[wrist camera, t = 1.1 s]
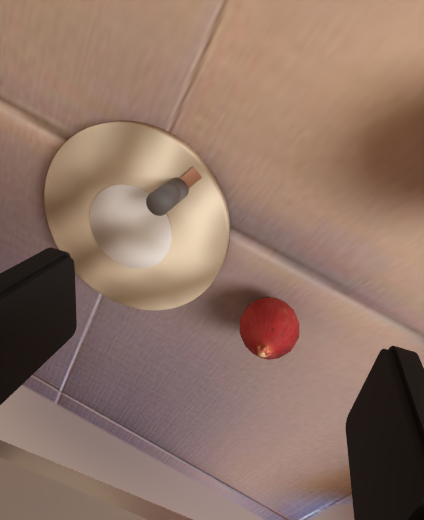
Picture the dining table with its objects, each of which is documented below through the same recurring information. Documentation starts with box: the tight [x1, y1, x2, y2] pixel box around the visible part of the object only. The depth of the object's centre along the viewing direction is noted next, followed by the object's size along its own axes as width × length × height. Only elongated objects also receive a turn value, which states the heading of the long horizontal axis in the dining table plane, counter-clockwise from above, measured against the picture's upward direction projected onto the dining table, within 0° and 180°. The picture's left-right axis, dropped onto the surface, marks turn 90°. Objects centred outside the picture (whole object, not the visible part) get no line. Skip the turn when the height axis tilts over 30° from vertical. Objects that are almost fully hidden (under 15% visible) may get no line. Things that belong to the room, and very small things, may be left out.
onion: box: [240, 297, 299, 360], centre depth 33 cm, size 6×6×8 cm
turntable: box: [44, 121, 230, 310], centre depth 33 cm, size 20×20×6 cm
